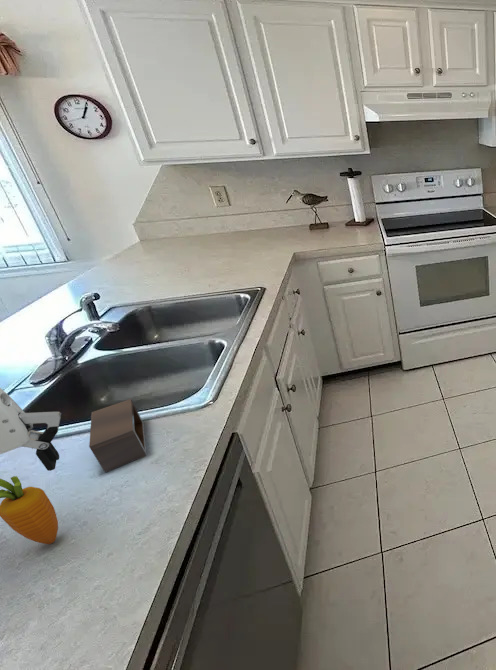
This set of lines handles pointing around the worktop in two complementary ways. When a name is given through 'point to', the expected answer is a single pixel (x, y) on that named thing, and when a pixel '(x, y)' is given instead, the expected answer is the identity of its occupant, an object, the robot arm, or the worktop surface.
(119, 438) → the shelf
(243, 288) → the worktop surface
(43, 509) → the carrot
